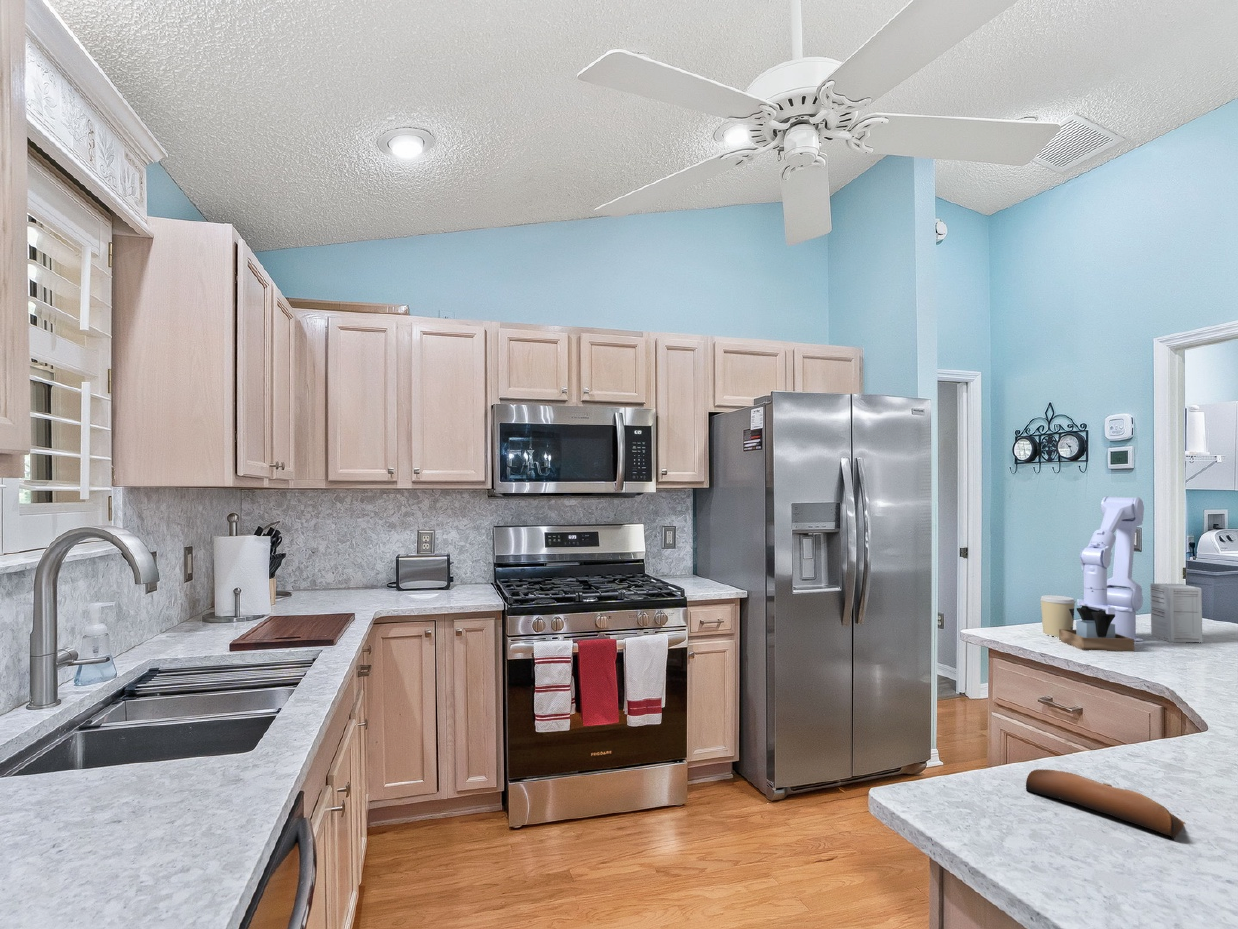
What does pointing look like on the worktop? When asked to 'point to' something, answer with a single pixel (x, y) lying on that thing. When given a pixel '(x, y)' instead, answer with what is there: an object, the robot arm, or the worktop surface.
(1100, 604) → the robot arm
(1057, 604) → the coffee cup
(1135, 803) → the sunglasses case
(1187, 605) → the supplement box
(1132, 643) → the walnut crate
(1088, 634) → the slate crate
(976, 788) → the worktop surface
